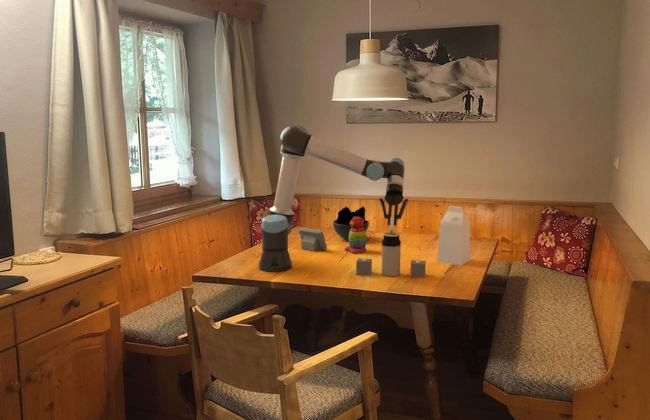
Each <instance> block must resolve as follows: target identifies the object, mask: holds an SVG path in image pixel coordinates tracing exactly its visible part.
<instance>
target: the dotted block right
mask: <svg viewBox="0 0 650 420" xmlns="http://www.w3.org/2000/svg"><path fill="white" fill-rule="evenodd" d="M426 266H427V265H426V260H419V259H418V260H415V259H414V260H411V261H410V278H423V279H425V278H426Z"/></svg>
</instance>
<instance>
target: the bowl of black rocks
mask: <svg viewBox="0 0 650 420" xmlns="http://www.w3.org/2000/svg"><path fill="white" fill-rule="evenodd" d="M354 216H356V217H361V218H362V219H363V220H364V225H363V228H364V229H365V231H366V232H367V231H368V228H369V225H370V222H369V221H368V220H366V207H365V206H361V207H360V208H357V209H356V210H355V211H351V209H350V208H349V207H348V206H345V207H343V208H342V209H340V210H338V213H337V218H336V219H335V220H333V222H332V226H333V229H334V231H335V233H336V235H338V236H339V237H340V238H342V239H344V240H347V241H349V232H350V229H351V228H352V227H351V225H350V221H351V220H352V218H354Z"/></svg>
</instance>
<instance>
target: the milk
mask: <svg viewBox="0 0 650 420" xmlns="http://www.w3.org/2000/svg"><path fill="white" fill-rule="evenodd" d="M470 229H471V223H470V220H469V217H467V215H466V214H465V212H464V209H463V207H462V206H456V205H455V206H453V205H449V206H448V208H447V210H446V212H445V214H444V215H443V216H442V219H441V220H440V224H439V234H438V244H437V245H438V246H437V258H436V259H437V260H436V263H442V264H443V263H444V264H451V265H459V266H462V265H464V264H466V263H469V261H471V230H470Z"/></svg>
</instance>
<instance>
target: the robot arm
mask: <svg viewBox="0 0 650 420" xmlns="http://www.w3.org/2000/svg"><path fill="white" fill-rule="evenodd" d="M279 139H280V140H279V141H280V145H281V146H280V154H281V156H282V158H281V164H280V170H279V173H278V181H277V186H276V191H275V196H274V197H275V198H274V202H273V206H272V207H270V208H269V212H268V215H265V216H264V217H262V220H261V225H260V227H261V244H262V246H261V255H260V259H259V262H258V269H259V270H261V271H264V272H283V271H288V270H291V269H292V268H293V262H292V260H291V255H290V253H289V241H288V240H289V235H290V234H291V232H292V230H293V224H294V223H293V220H294V215H295V213H294V211H293V204H294V199H295V192H296V187H297V181H298V176H299V171H300V166H301V161H302V159H304V158H305V157H306V156H310V157H314V158H316V159H318V160H321V161H323V162H325V163H326V162H327V163H329V164H332V165H335V166H337V167H340V168H342V169H344V170H346V171H347V170H348V171H350V172H352V173H355V174H358V175H361V176H363V177H366V178H367V179H369V180H370V181H374V182H375V181H379V180H380V179H386V189H385V196H384V197H383V198H379V204H380V205H381V208H382V213H383V218H384V219H385V220H386V219H387V226H389V232H390V233H394V232H395V231H394V229H395V227H397V224H398V220H401V219H402V218H403V215H404V211H405V209H406V206H407V205H408V204H409V199H408V198H404V182H405V181H404V180H405V179H404V178H405V169H406V168H405V162H404V161H403V159H401V158H400V157H394V158H390V160H388V161H382V160H381V161H380V160H372V159H367V158H365V157H362V156H360V155H357V154H355V153H352V152H350V151H348V150H345V149H341V148H340V147H337V146H334V145H332V144H330V143H326V142H324V141H321V140H319V139H317V138H315V137H314V135H312V134H310V133H308V131H307V130H306V128H304V127H303V126H301V125H296V124H295V125H294V124H293V125H289V126H287V127H284V129H283V130H282V132H281V134H280V137H279ZM385 203H387V204H388V213H387V209H386V205H385ZM401 203H402V204H401ZM400 204H401V207H400V210H399V205H400ZM393 206H394V214H393V216H392V213H393ZM398 211H399V212H398Z"/></svg>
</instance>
